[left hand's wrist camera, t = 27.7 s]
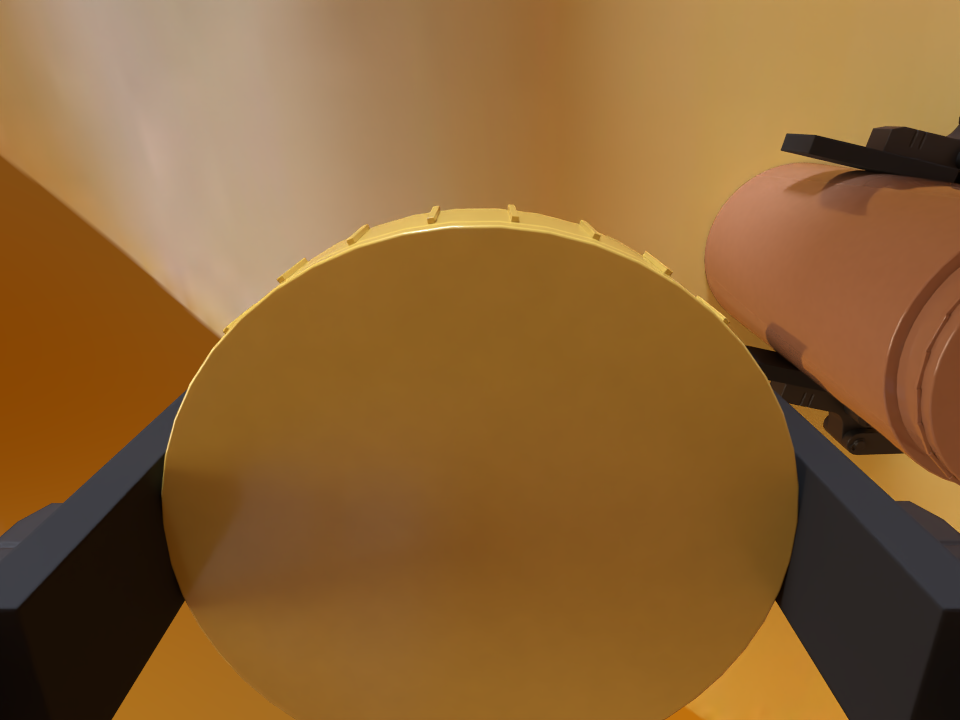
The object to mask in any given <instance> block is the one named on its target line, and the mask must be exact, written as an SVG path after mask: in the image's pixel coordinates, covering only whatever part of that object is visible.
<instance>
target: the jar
mask: <svg viewBox="0 0 960 720" xmlns="http://www.w3.org/2000/svg"><path fill="white" fill-rule="evenodd" d="M705 271H706V276H707V281H708V284H709V286H710V289H711V291H712V293H713V295H714V297H715V299H716V300H717V301H718V303H719V304H720V305H721V307H722V308H723V309H724V310H725V311H727V312H728V313H729V314H730V315H731V316H732V317H734V318H735V319H736V320H737V321H739V322H740V323H741V324H742V325H744V326H745V327H746V328H747V329H749V330H750V331H751V332H752V333H754V334H755V335H756V336H757V337H759V338H760V339H761V340H763V341H764V342H765V343H766V344H768V345H769V346H770V347H771V348H773V349H774V350H775V351H776V352H778V353H779V354H780V355H781V356H783V357H784V358H785V359H786V360H788V361H789V362H790V363H791V364H793V365H794V366H795V367H796V368H798V369H799V370H800V371H801V372H803V373H804V374H805V375H807V376H808V377H809V378H810V379H812V380H813V381H814V382H815V383H817V384H818V385H819V386H820V387H822V388H823V389H824V390H825V391H827V392H828V393H829V394H830V395H832V396H833V397H834V398H835V399H837V400H838V401H839V402H840V403H842V404H843V405H844V406H845V407H847V408H848V409H849V410H851V411H852V412H853V413H854V414H856V415H857V416H858V417H859V418H861V419H862V420H863V421H864V422H866V423H867V424H868V425H869V426H871V427H872V428H873V429H874V430H876V431H877V432H878V433H879V434H881V435H882V436H883V437H884V438H886V439H887V440H888V441H889V442H891V443H892V444H893V445H895V446H896V447H897V448H898V449H900V450H901V451H902V452H903V453H905V454H906V455H907V456H908V457H910V458H911V459H912V460H913V461H915V462H916V463H917V464H919V465H920V466H922V467H923V468H924V469H926V470H927V471H929V472H931V473H933V474H935V475H937V476H939V477H941V478H943V479H945V480H948V481H951V482H954V483H957V484H958V485H960V184H959V183H952V182H945V181H938V180H931V179H924V178H916V177H909V176H902V175H895V174H888V173H881V172H874V171H867V170H859V169H852V168H845V167H838V166H831V165H824V164H817V163H791V164H786V165H781V166H778V167H775V168H772V169H769V170H767V171H765V172H763V173H761V174H758V175H757V176H755V177H754V178H752V179H750V180H749V181H747V182H746V183H745V184H744V185H742V186H741V187H740V188H739V189H738V190H737V191H736V192H735V193H734V194H733V195H732V196H731V197H730V198H729V199H728V200H727V201H726V203H725V204H724V205H723V207H722V208H721V210H720V211H719V213H718V215H717V216H716V218H715V220H714V222H713V224H712V227H711V229H710V232H709V235H708V238H707V243H706V248H705Z"/></svg>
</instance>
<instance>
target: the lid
mask: <svg viewBox="0 0 960 720" xmlns="http://www.w3.org/2000/svg"><path fill="white" fill-rule="evenodd" d="M672 273H673V271H672V270H670V269H669V268H668V267H666V266H665V265H664V264H663V263H661V262H660V261H659V260H657V259H656V258H655V257H654V256H652V255H651V254H650V253H648V252H647V251H645V253H644V254H643V255H641V254H640V253H638V252H636V251H634V250H633V249H631V248H629V247H628V246H626V245H624V244H622V243H621V242H619V241H617V240H616V239H614V238H611V237H609V236H606V235H604V234H602V233H599V232H597V231H596V230H595V229H594V228H593V227H592V226H591V225H590V224H589V223H588V222H586V221H584V220H581V221H580V223H579V224H577V223H573V222H569V221H566V220H562V219H558V218H554V217H550V216H546V215H543V214H539V213H531V212H523V211H517V210H516V207H515V205H511V204H508V210H507V209H499V208H481V209H451V210H444V211H440V206H434V207H433V208H432V210H431V212H430V213H424V214H417V215H412V216H409V217H405V218H402V219H398V220H395V221H392V222H388V223H385V224H381V225H378V226H375V227H372V228H369V225H368V224H366V225H363V226H362V227H361V228H359V229H358V230H357V231H356V232H355V233H354V234H353V235H352V236H350V237H349V238H348V239H345V240H343V241H341V242H339V243H337V244H335V245H334V246H332V247H331V248H329V249H327V250H326V251H324V252H323V253H321V254H319V255H318V256H316V257H315V258H313V259H311V260H310V261H307V260H306V258H303V259H302V260H301V261H299V262H298V263H297V264H295V265H294V266H293V267H292V268H290V269H289V270H288V271H286V272H285V273H284V274H283V275H281V276H280V277H279V278H277V281H278V282H279V283H280V284H279V285H278V286H277V287H276V288H274V289H273V290H272V291H271V292H270V293H268V294H267V295H266V296H265V297H264V298H262V299H261V300H260V301H259V302H258V303H256V304H254V305H253V306H251V307H250V308H249V309H248V310H246V311H245V312H244V313H243V314H241V315H240V316H239V317H238V318H237V319H235V320H234V321H233V322H232V323H230V324H229V325H228V326H227V327H226V328H225V329H224V330H223V332H224V333H225V335H224V336H223V337H222V338H221V339H220V341H219V342H218V343H217V344H216V345H215V346H214V347H213V349H212V350H211V352H210V353H209V355H208V356H207V358H206V359H205V361H204V363H203V364H202V366H201V367H200V369H199V370H198V372H197V373H196V375H195V376H194V378H193V380H192V381H191V383H190V385H189V387H188V389H187V392H186V394H185V396H184V398H183V401H182V403H181V405H180V408H179V410H178V412H177V414H176V417H175V419H174V423H173V427H172V430H171V434H170V438H169V442H168V446H167V450H166V453H165V460H164V470H163V480H162V491H161V497H162V514H163V525H164V531H165V536H166V541H167V546H168V551H169V556H170V561H171V565H172V568H173V571H174V574H175V576H176V579H177V582H178V584H179V587H180V590H181V592H182V595H183V597H184V599H185V601H186V603H187V605H188V606H189V608H190V610H191V612H192V614H193V616H194V618H195V619H196V621H197V623H198V625H199V627H200V628H201V629H202V631H203V632H204V634H205V635H206V636H207V638H208V639H209V640H210V642H211V643H212V645H213V646H214V647H215V649H216V650H217V652H218V653H219V654H220V655H221V656H222V658H223V659H224V660H225V661H226V662H227V663H228V664H229V665H230V666H231V667H232V668H233V669H234V670H235V671H236V672H237V674H238V675H239V676H240V677H241V678H242V679H243V680H244V681H245V682H247V683H248V684H249V685H250V686H251V687H252V688H254V689H255V690H256V691H257V692H258V693H260V694H261V695H262V696H263V697H264V698H266V699H267V700H268V701H269V702H270V703H272V704H273V705H275V706H276V707H278V708H279V709H281V710H282V711H284V712H286V713H287V714H288V715H290V716H291V717H293V718H294V719H296V720H665V719H666V718H668V717H670V716H671V715H672V714H674V713H675V712H677V711H678V710H680V709H681V708H682V707H684V706H685V705H687V704H688V703H690V702H691V701H693V700H694V699H695V698H697V697H698V696H699V695H700V694H701V693H702V692H703V691H705V690H706V689H707V688H708V687H709V686H710V685H711V684H713V683H714V682H715V681H716V680H717V679H718V678H719V677H720V676H722V675H723V673H724V672H725V671H726V670H727V669H728V668H729V667H730V666H731V664H732V663H733V662H734V661H735V660H736V659H737V658H738V657H739V656H740V654H741V653H742V652H743V651H744V650H745V649H746V647H747V646H748V644H749V643H750V641H751V640H752V638H753V637H754V636H755V634H756V633H757V631H758V630H759V628H760V627H761V625H762V624H763V622H764V621H765V619H766V617H767V615H768V613H769V611H770V609H771V607H772V605H773V603H774V601H775V599H776V597H777V595H778V593H779V591H780V589H781V586H782V583H783V580H784V577H785V574H786V571H787V569H788V566H789V563H790V559H791V554H792V549H793V544H794V539H795V534H796V528H797V523H798V496H799V484H798V476H797V468H796V460H795V453H794V447H793V444H792V440H791V437H790V433H789V430H788V427H787V423H786V420H785V416H784V413H783V411H782V409H781V406H780V404H779V402H778V400H777V398H776V396H775V394H774V392H773V390H772V387H771V385H770V383H769V381H768V379H767V377H766V375H765V374H764V372H763V371H762V370H761V368H760V367H759V365H758V364H757V362H756V361H755V359H754V358H753V356H752V355H751V353H750V352H749V351H748V349H747V348H746V346H745V345H744V343H743V342H742V341H741V340H740V339H739V338H738V337H737V336H736V335H735V333H734V332H733V331H732V330H731V329H730V328H729V327H728V326H727V324H729V323H730V322H729V320H728V319H727V318H726V317H725V316H723V315H722V314H721V313H720V312H718V311H717V310H716V309H715V308H713V307H712V306H711V305H710V304H708V303H707V302H706V301H705V300H703V299H702V298H701V297H700V296H697V297H696V296H694V295H693V294H692V293H691V292H689V291H688V290H687V289H686V288H684V287H683V286H682V285H681V284H680V283H678V282H677V281H676V280H675V279H673V278H672V277H671V276H670V275H671V274H672Z"/></svg>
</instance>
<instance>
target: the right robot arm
mask: <svg viewBox="0 0 960 720" xmlns="http://www.w3.org/2000/svg"><path fill="white" fill-rule="evenodd" d="M781 151H785V152H790V153H794V154H798V155H802V156H807V157H811V158H815V159H819V160H824V161H828V162H832V163H837V164H841V165H845V166H849V167H854V168H858V169H862V170H867V171H874V172H881V173H888V174H895V175H902V176H909V177H916V178H924V179H931V180H938V181H945V182H952V183H959V184H960V117H959V126H958V127H957V128H956V129H955V130H954V131H953V132H952V133H951V134H949V135H948V136H946V137H945V136H941V135H937V134H933V133H929V132H924V131H920V130H916V129H912V128H908V127H892V126H885V127H879V128H873V130H872V133H871V135H870V138H869V140H868V143H867V145H866V147H864V146H859V145H855V144H851V143H847V142H842V141H838V140H834V139H830V138H826V137H821V136H817V135H805V134H786V137H785V140H784V143H783V145H782V148H781ZM745 346H746V345H745ZM746 348H747V349H748V351H749V352H750V353H751V355H752V356H753V358H754V359H755V361H756V362H757V364H758V365H759V367H760V368H761V370H762V371H763V372H764V374H765V375H766V377H767V379H768V380H770V381H771V382H770V385H771V387H772V389H773V390H774V391H776V392H777V393H778V394H779V395H780V396H781V397H782V398H783V399H784V400H785V401H786V402H788V403H790V404H795V405H800V406H804V407H809V408H814V409H819V410H824V411H829V415H828V416H827V417H826V419H825V420H824V423H823V426H824V429H825V430H826V431H827V432H828V433H829V434H830V435H831V436H832V437H833V438H835V439H836V440H837V441H838V442H839V443H840V444H841V445H842V446H843V447H844V448H846V449H847V450H848V451H849V452H850V453H852V454H855V455H869V454H901V453H903V452H902V451H901V450H900V449H898V448H897V447H896V446H895V445H893V444H892V443H891V442H889V441H888V440H887V439H886V438H884V437H883V436H882V435H881V434H879V433H878V432H877V431H876V430H874V429H873V428H872V427H871V426H869V425H868V424H867V423H866V422H864V421H863V420H862V419H861V418H859V417H858V416H857V415H856V414H854V413H853V412H852V411H851V410H849V409H848V408H847V407H845V406H844V405H843V404H842V403H840V402H839V401H838V400H837V399H835V398H834V397H833V396H832V395H830V394H829V393H828V392H827V391H825V390H824V389H823V388H822V387H820V386H819V385H818V384H817V383H815V382H814V381H813V380H812V379H810V378H809V377H808V376H807V375H805V374H804V373H803V372H801V371H800V370H799V369H798V368H796V367H795V366H794V365H793V364H791V363H790V362H789V361H788V360H786V359H785V358H784V357H783V356H781V355H780V354H779V353H778V352H775V351H770V350H765V349H760V348H755V347H751V346H746Z"/></svg>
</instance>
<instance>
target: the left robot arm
mask: <svg viewBox="0 0 960 720" xmlns="http://www.w3.org/2000/svg"><path fill="white" fill-rule="evenodd" d="M772 390H773V389H772ZM186 392H187V390H186V391H185V392H184V393H183V394H182V395H181V396H179V397H178V398H177V399H176V400H175V401H174V402H173V403H172V404H171V405H170V406H169V407H167V408H166V409H165V410H164V411H163V412H162V413H161V414H160V415H159V416H158V417H157V418H155V419H154V420H153V421H152V422H151V423H150V424H149V425H148V426H147V427H146V428H145V429H144V430H142V431H141V432H140V433H139V434H138V435H137V436H136V437H135V438H134V439H133V440H132V441H130V442H129V443H128V444H127V445H126V446H125V447H124V448H123V449H122V450H121V451H120V452H118V453H117V454H116V455H115V456H114V457H113V458H112V459H111V460H110V461H109V462H108V463H106V464H105V465H104V466H103V467H102V468H101V469H100V470H99V471H98V472H97V473H96V474H94V475H93V476H92V477H91V478H90V479H89V480H88V481H87V482H86V483H85V484H84V485H82V486H81V487H80V488H79V489H78V490H77V491H76V492H75V493H74V494H73V495H72V496H70V497H69V498H68V499H67V500H66V501H65V502H64V503H51V504H50V505H48V506H46V507H44V508H42V509H40V510H38V511H37V512H35V513H33V514H31V515H29V516H27V517H25V518H24V519H22V520H20V521H18V522H17V523H16V524H15V525H13V526H12V527H11V528H10V529H9V530H8V531H7V532H5V533H4V534H3V535H2V536H1V537H0V720H112V718H113V716H114V715H115V713H116V712H117V710H118V708H119V707H120V705H121V703H122V702H123V700H124V699H125V697H126V695H127V694H128V692H129V690H130V689H131V687H132V686H133V684H134V682H135V681H136V679H137V677H138V676H139V674H140V673H141V671H142V669H143V668H144V666H145V664H146V663H147V661H148V660H149V658H150V656H151V655H152V653H153V651H154V650H155V648H156V647H157V645H158V643H159V642H160V640H161V638H162V637H163V635H164V634H165V632H166V630H167V629H168V627H169V625H170V624H171V622H172V621H173V619H174V617H175V616H176V614H177V612H178V611H179V609H180V607H181V606H182V604H183V603H184V601H185V599H184V597H183V595H182V592H181V590H180V587H179V584H178V582H177V579H176V576H175V574H174V571H173V568H172V565H171V561H170V556H169V551H168V546H167V541H166V536H165V531H164V525H163V514H162V497H161V491H162V480H163V470H164V460H165V453H166V450H167V446H168V442H169V438H170V434H171V430H172V427H173V423H174V419H175V417H176V414H177V412H178V410H179V408H180V405H181V403H182V401H183V398H184V396H185V394H186ZM773 392H774V394H775V396H776V398H777V400H778V402H779V404H780V406H781V409H782V411H783V413H784V416H785V420H786V423H787V427H788V430H789V433H790V437H791V440H792V444H793V447H794V453H795V460H796V468H797V476H798V484H799V496H798V523H797V528H796V534H795V539H794V544H793V549H792V554H791V559H790V563H789V566H788V569H787V571H786V574H785V577H784V580H783V583H782V586H781V589H780V591H779V593H778V595H777V597H776V599H775V600H776V602H777V604H778V605H779V607H780V608H781V610H782V612H783V613H784V615H785V617H786V618H787V620H788V622H789V623H790V625H791V626H792V628H793V630H794V631H795V633H796V635H797V636H798V638H799V639H800V641H801V643H802V644H803V646H804V648H805V649H806V651H807V652H808V654H809V656H810V657H811V659H812V661H813V662H814V664H815V665H816V667H817V669H818V670H819V672H820V674H821V675H822V677H823V678H824V680H825V682H826V683H827V685H828V687H829V688H830V690H831V691H832V693H833V695H834V696H835V698H836V700H837V701H838V703H839V704H840V706H841V708H842V709H843V711H844V713H845V714H846V716H847V717H848V719H849V720H960V533H959V532H957V531H956V530H955V529H954V528H953V527H952V526H950V525H949V524H948V523H947V522H946V521H945V520H943V519H942V518H940V517H938V516H936V515H934V514H932V513H930V512H929V511H927V510H925V509H923V508H921V507H919V506H917V505H916V504H914V503H912V502H910V501H894V500H893V499H892V498H891V497H890V496H889V495H888V494H887V493H886V492H885V491H883V490H882V489H881V488H880V487H879V486H878V485H877V484H876V483H875V482H874V481H873V480H871V479H870V478H869V477H868V476H867V475H866V474H865V473H864V472H863V471H862V470H861V469H859V468H858V467H857V466H856V465H855V464H854V463H853V462H852V461H851V460H850V459H849V458H847V457H846V456H845V455H844V454H843V453H842V452H841V451H840V450H839V449H838V448H837V447H835V446H834V445H833V444H832V443H831V442H830V441H829V440H828V439H827V438H826V437H825V436H824V435H822V434H821V433H820V432H819V431H818V430H817V429H816V428H815V427H814V426H813V425H812V424H810V423H809V422H808V421H807V420H806V419H805V418H804V417H803V416H802V415H801V414H800V413H798V412H797V411H796V410H795V409H794V408H793V407H792V406H791V405H790V404H789V403H788V402H786V401H785V400H784V399H783V398H782V397H781V396H780V395H779V394H778V393H777V392H776V391H774V390H773Z"/></svg>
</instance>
